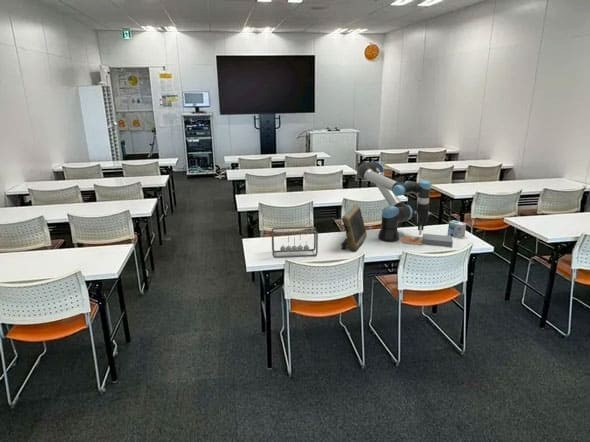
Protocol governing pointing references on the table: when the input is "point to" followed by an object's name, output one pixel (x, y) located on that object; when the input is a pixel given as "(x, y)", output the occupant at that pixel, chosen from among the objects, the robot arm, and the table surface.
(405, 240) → the mat
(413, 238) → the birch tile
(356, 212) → the tablet
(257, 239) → the table surface
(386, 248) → the table surface
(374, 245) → the table surface
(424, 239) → the deck
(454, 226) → the light bulb box
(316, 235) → the newton's cradle
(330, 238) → the table surface
